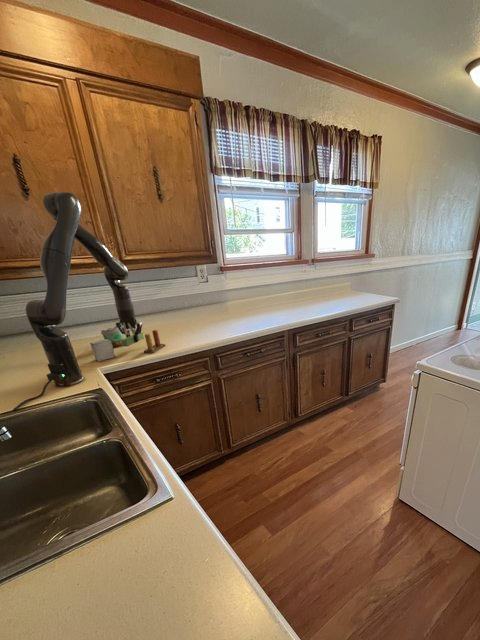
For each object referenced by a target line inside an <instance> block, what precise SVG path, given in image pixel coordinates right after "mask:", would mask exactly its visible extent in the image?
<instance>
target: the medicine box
mask: <svg viewBox="0 0 480 640" xmlns="http://www.w3.org/2000/svg"><path fill="white" fill-rule="evenodd" d="M90 347H91V350H92V354H93V356H94V359H95V360H96V361H97V362H102V361H106V360H110V359H113V358H116V354H115V351H114V348H113V347H112V343H111V341H110V340H108V339H104V338H103V339H100V340H96V341H92V342H90Z"/></svg>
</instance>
